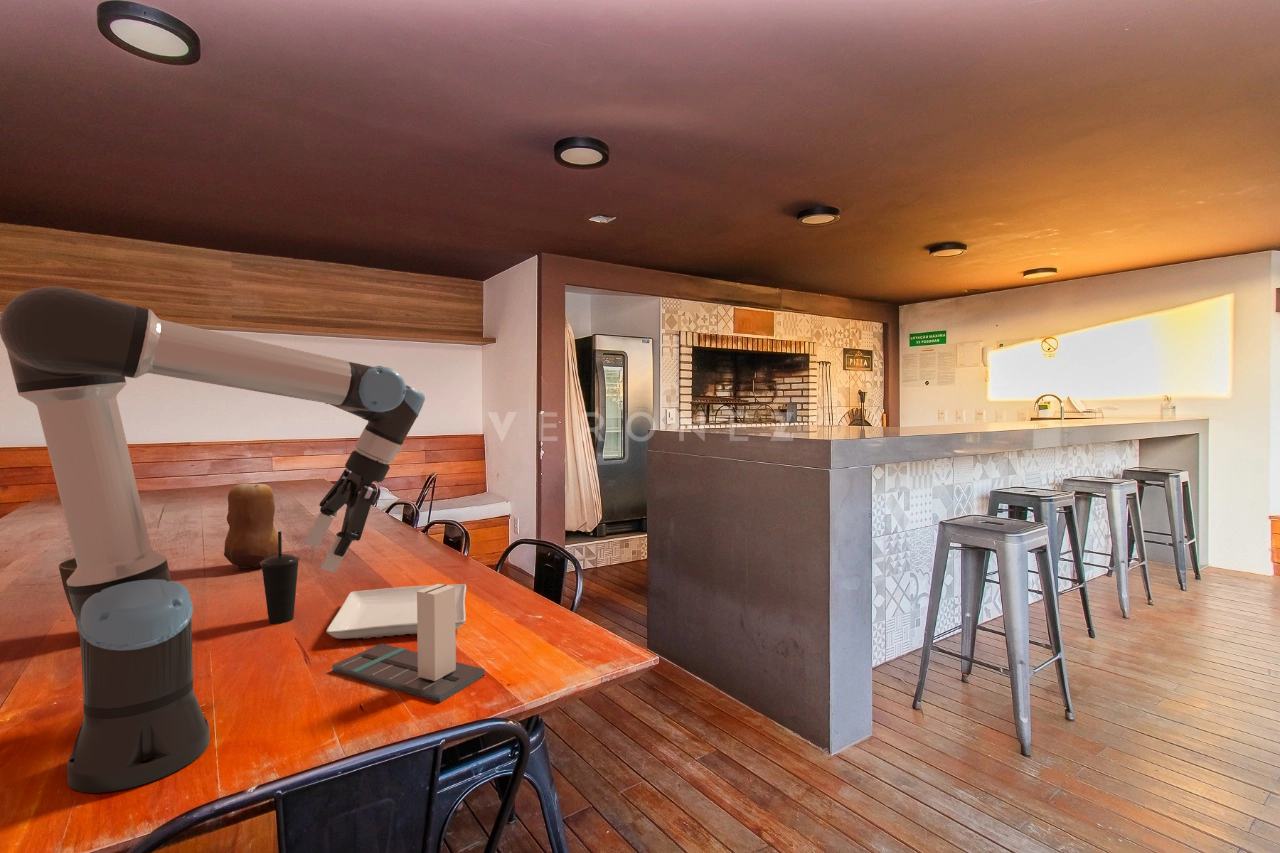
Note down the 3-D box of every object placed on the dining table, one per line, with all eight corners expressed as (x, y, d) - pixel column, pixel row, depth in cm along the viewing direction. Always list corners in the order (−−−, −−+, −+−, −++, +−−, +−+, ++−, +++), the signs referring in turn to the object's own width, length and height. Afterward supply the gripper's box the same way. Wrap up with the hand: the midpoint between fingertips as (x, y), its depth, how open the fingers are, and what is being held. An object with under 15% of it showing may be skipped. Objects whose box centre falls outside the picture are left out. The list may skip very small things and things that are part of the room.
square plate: (324, 649, 122) (324, 630, 122) (350, 605, 148) (350, 589, 148) (465, 636, 129) (465, 618, 129) (466, 596, 155) (466, 581, 155)
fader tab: (455, 669, 109) (455, 586, 108) (435, 681, 104) (434, 594, 104) (438, 665, 110) (438, 583, 110) (417, 676, 106) (416, 590, 105)
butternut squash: (276, 559, 189) (274, 479, 188) (284, 568, 179) (282, 483, 178) (222, 566, 180) (220, 482, 179) (227, 576, 170) (225, 487, 169)
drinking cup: (282, 627, 132) (281, 536, 132) (253, 624, 134) (251, 534, 133) (308, 615, 140) (307, 529, 139) (280, 612, 141) (278, 527, 141)
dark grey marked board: (484, 675, 110) (484, 668, 110) (440, 702, 100) (439, 694, 100) (381, 649, 121) (381, 642, 121) (332, 671, 111) (332, 664, 111)
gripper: (412, 479, 112) (356, 587, 109) (371, 450, 131) (322, 541, 128) (374, 465, 107) (314, 577, 104) (337, 436, 126) (285, 530, 123)
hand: (318, 557), depth 116 cm, fingers open, 13 cm apart
